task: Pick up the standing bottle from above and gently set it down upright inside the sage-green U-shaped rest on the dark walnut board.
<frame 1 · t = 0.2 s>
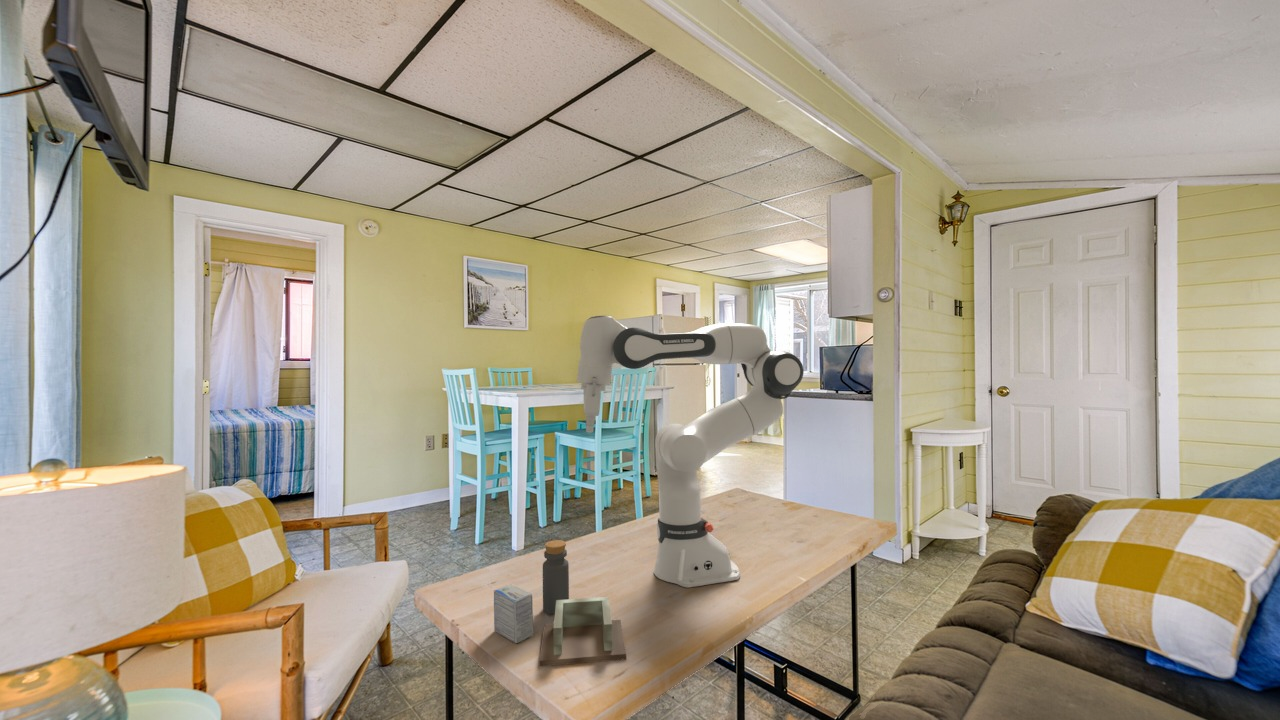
hand: (589, 430, 131), 39 cm above the table, tool pointing down, fingers open, 8 cm apart
medicine box: (513, 634, 104), on the table
u rest: (583, 643, 100), on the table
bottle: (556, 610, 114), on the table
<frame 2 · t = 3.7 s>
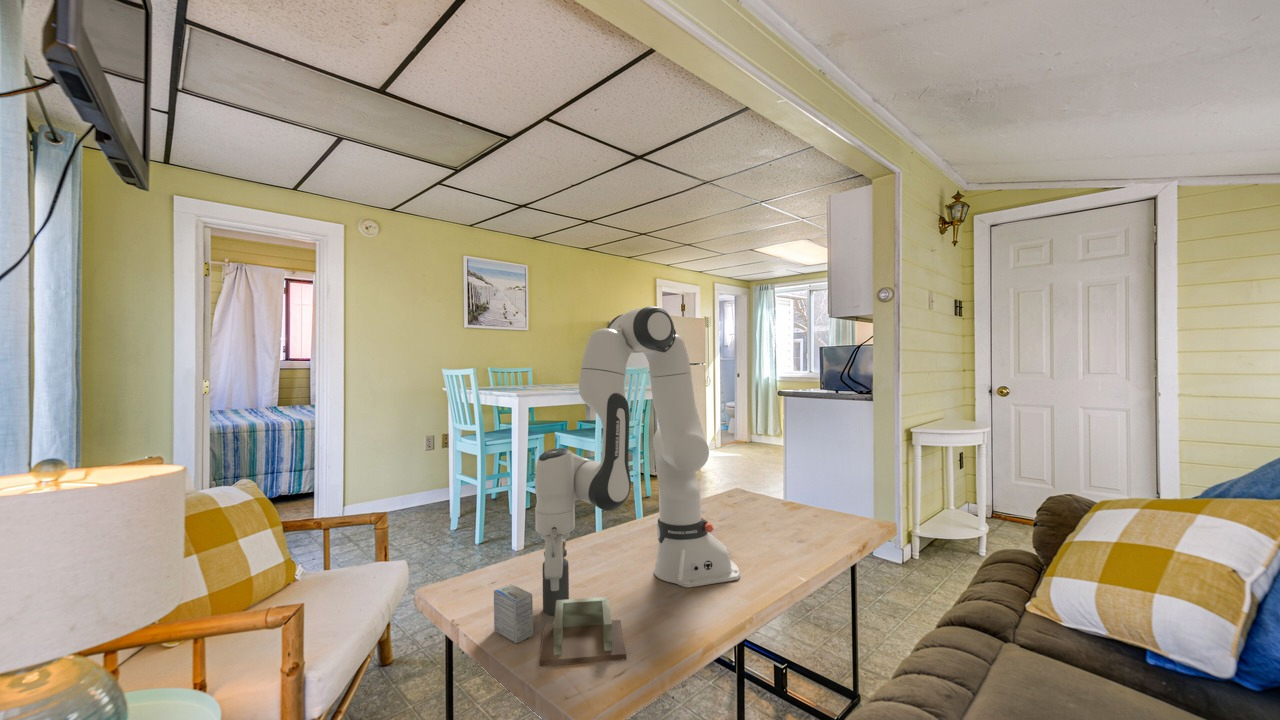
hand: (555, 582, 114), 6 cm above the table, tool pointing down, fingers closed on bottle, 6 cm apart
bottle: (556, 610, 114), on the table, touching gripper
everything else where it was.
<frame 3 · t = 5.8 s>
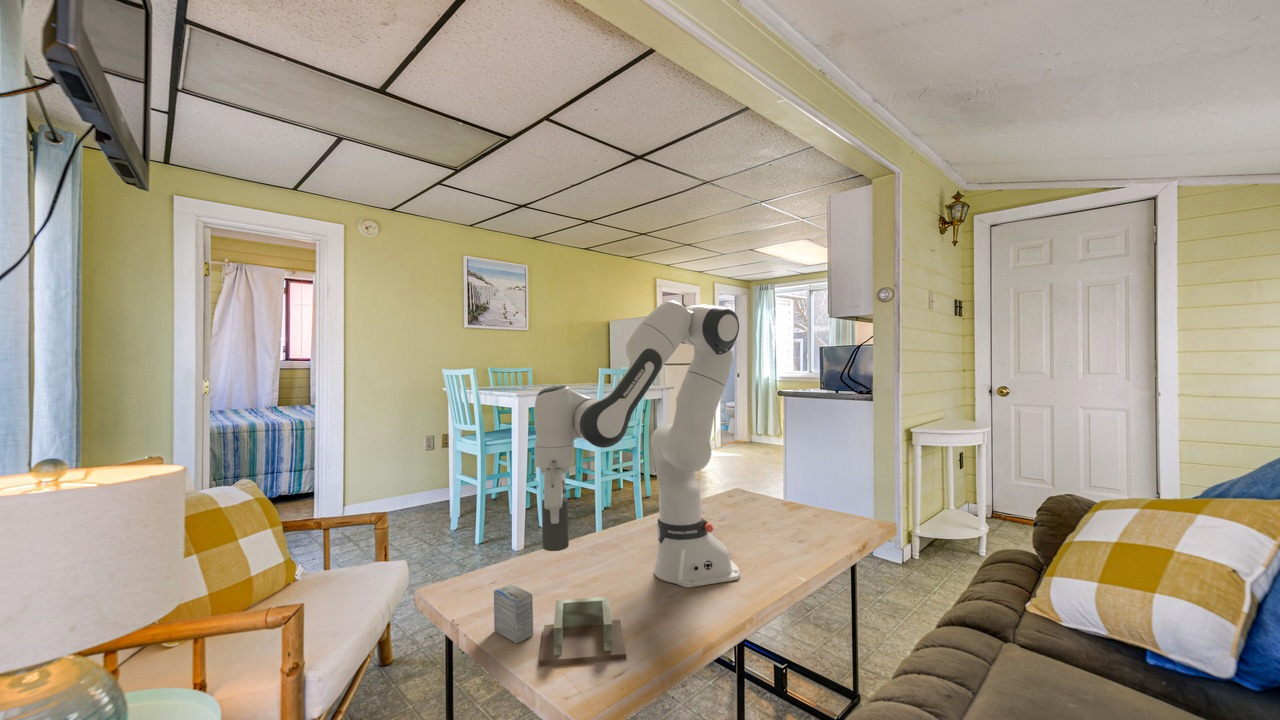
hand: (555, 518, 115), 21 cm above the table, tool pointing down, fingers closed on bottle, 5 cm apart
bottle: (555, 547, 115), point 14 cm above the table, touching gripper
everything else where it was.
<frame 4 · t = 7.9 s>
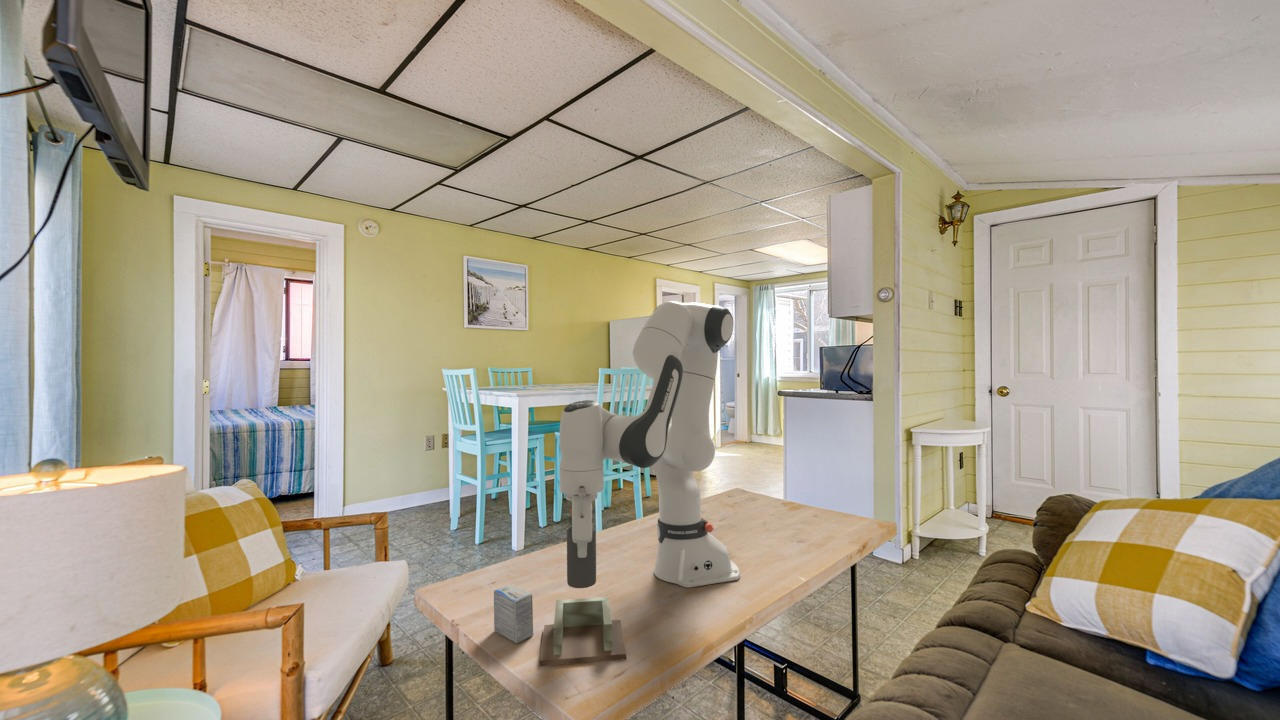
hand: (582, 550, 102), 18 cm above the table, tool pointing down, fingers closed on bottle, 5 cm apart
bottle: (581, 583, 102), point 11 cm above the table, touching gripper
everything else where it was.
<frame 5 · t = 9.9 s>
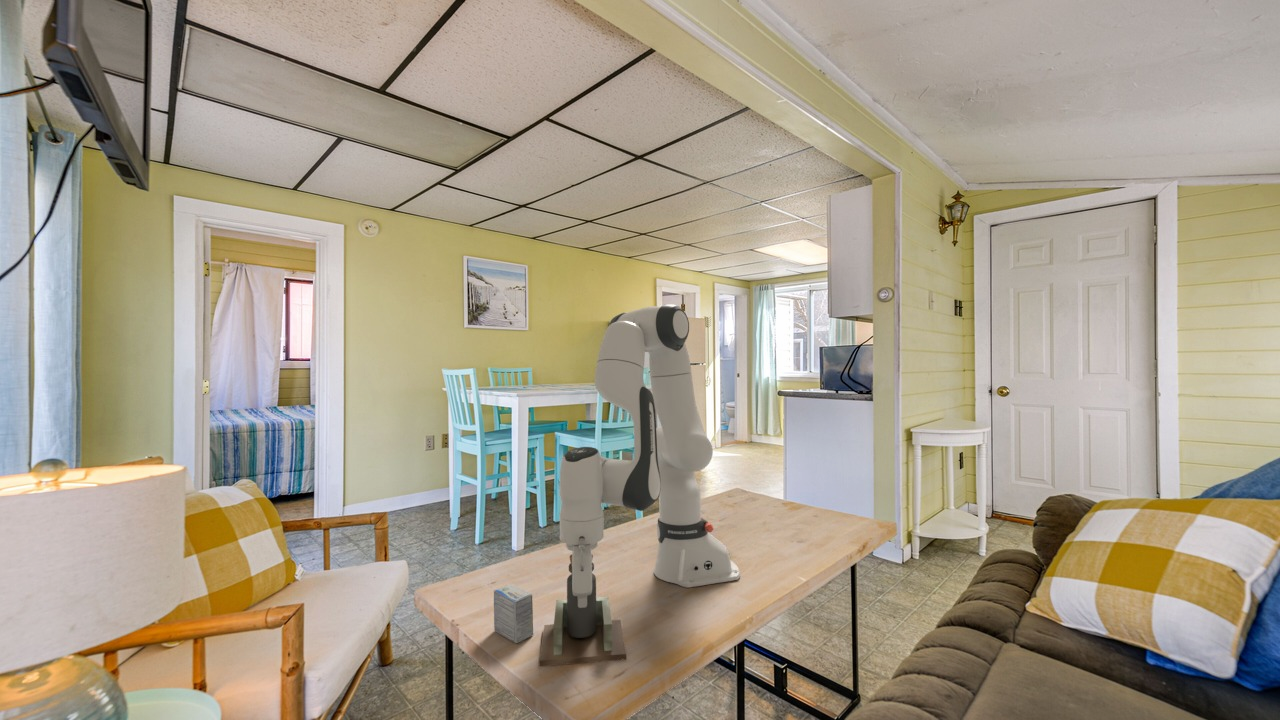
hand: (582, 598, 102), 8 cm above the table, tool pointing down, fingers closed on bottle, 5 cm apart
bottle: (582, 631, 102), point 2 cm above the table, touching gripper
everything else where it was.
when the fingers open (8 cm above the table, at t = 10.9 s): bottle moves 3 cm, resting on u rest.
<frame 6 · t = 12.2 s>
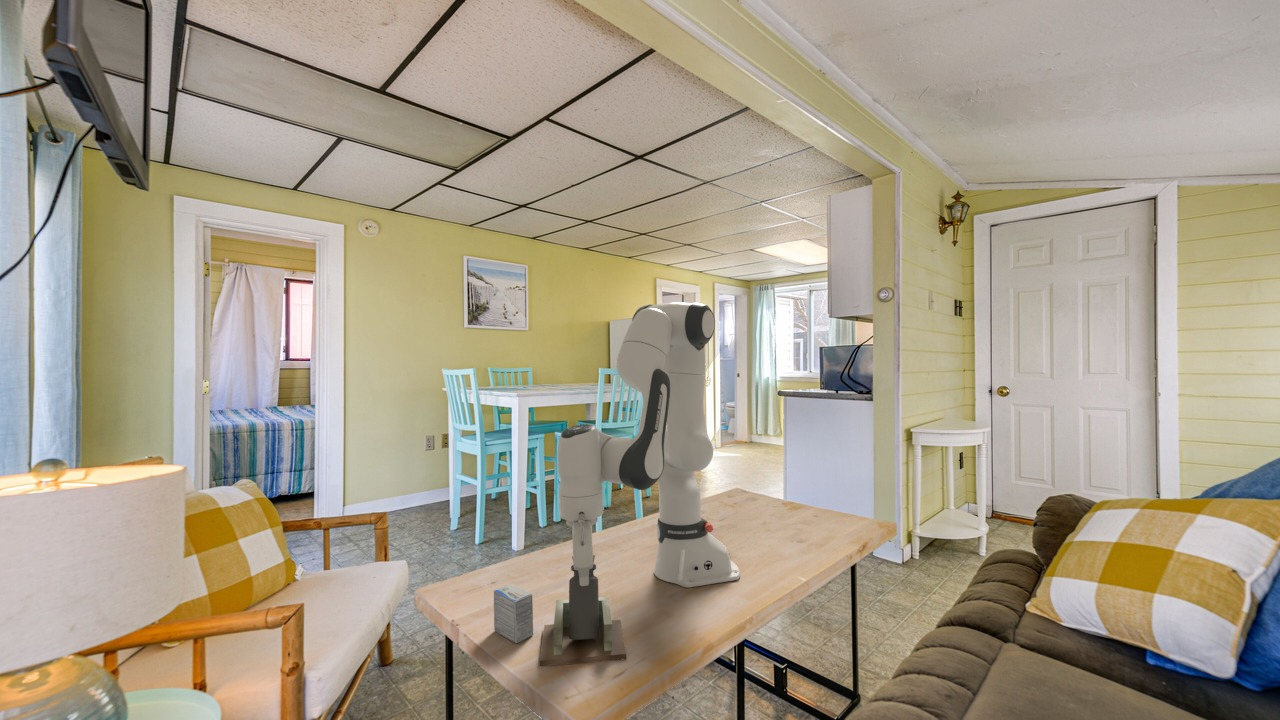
hand: (584, 574, 102), 13 cm above the table, tool pointing down, fingers open, 8 cm apart
bottle: (584, 638, 98), point 2 cm above the table, touching u rest
everything else where it was.
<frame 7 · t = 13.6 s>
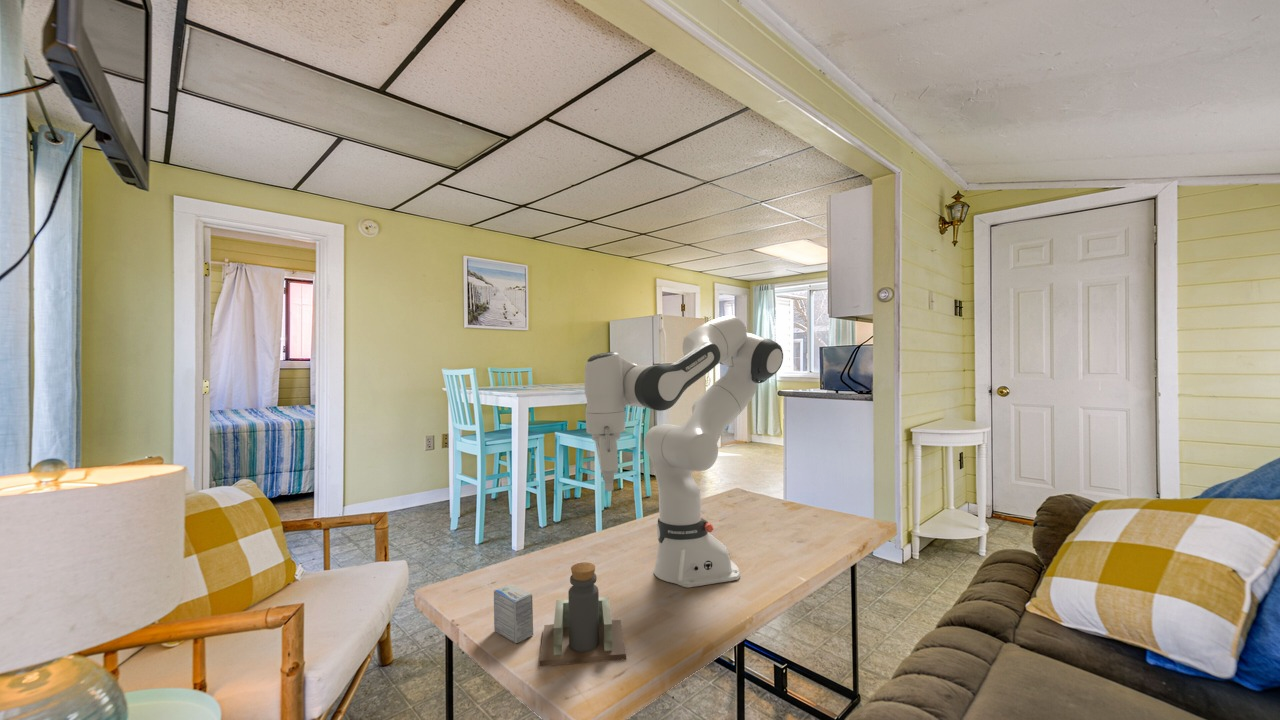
hand: (608, 485, 114), 28 cm above the table, tool pointing down, fingers open, 8 cm apart
bottle: (584, 644, 98), point 1 cm above the table, touching u rest
everything else where it was.
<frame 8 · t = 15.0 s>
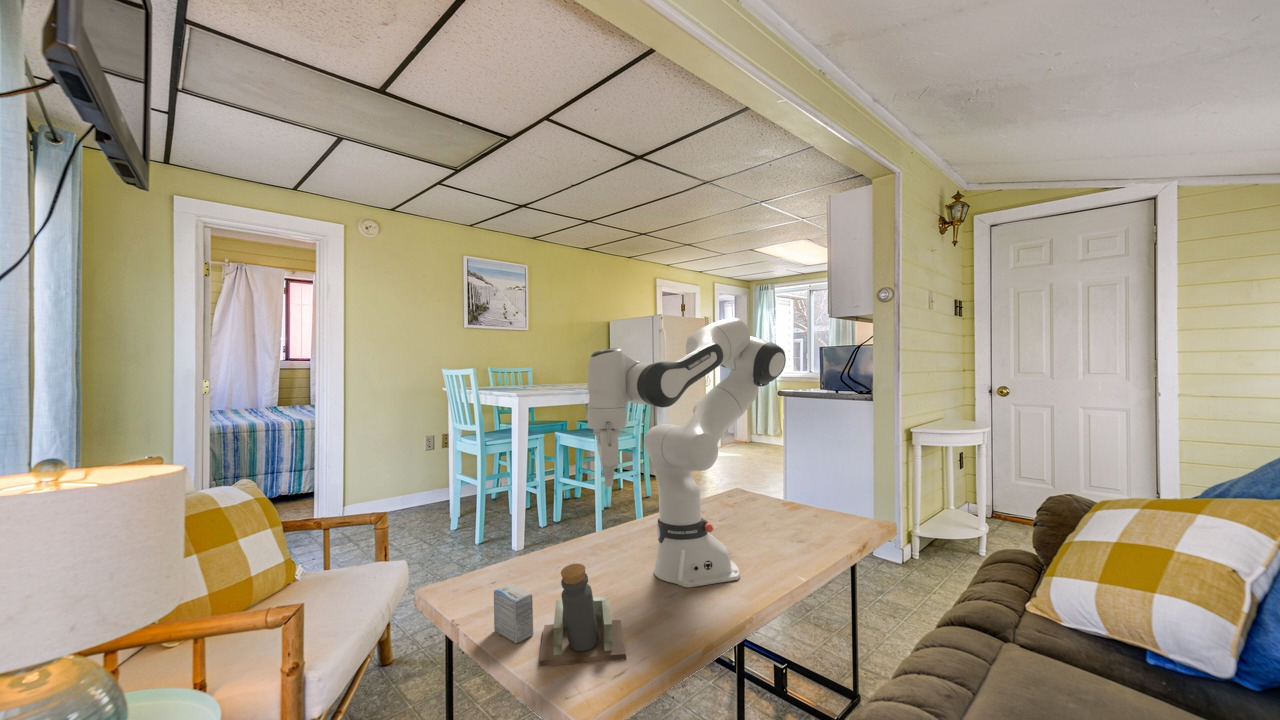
hand: (607, 481, 114), 29 cm above the table, tool pointing down, fingers open, 8 cm apart
at the end: bottle inside the target area on the u rest (2.0 cm from its centre), point 1.3 cm above the u rest's base; bottle tilted 11°; the gripper is holding nothing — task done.
